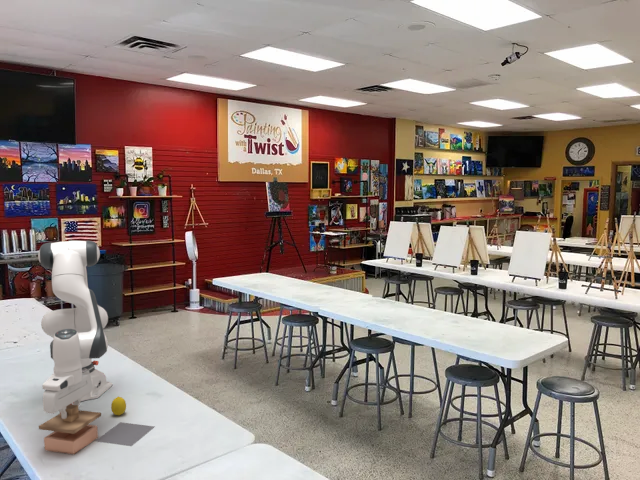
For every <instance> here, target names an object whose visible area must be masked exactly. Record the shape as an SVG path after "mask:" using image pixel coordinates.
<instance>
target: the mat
mask: <svg viewBox="0 0 640 480" xmlns="http://www.w3.org/2000/svg"><path fill="white" fill-rule="evenodd" d="M154 428H156V426H152V425H146V424H145V425H144V424H138V423H129V422H119V423H117V424H115V426H113V427H112V428H110V429H109V430H108V431H106V432H105V433H103V434H102V435H101V436H98V438H97V439H95V440H94V442H97V443H99V442H100V443H104V444H112V445H113V444H114V445H120V446H128V447H132V446H134V445H135V444H136V443H138V442H139V441H140V440H141V439H142V438H143V437H145V436H146V435H147V434H148V433H149V432H151V430H153V429H154Z"/></svg>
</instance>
